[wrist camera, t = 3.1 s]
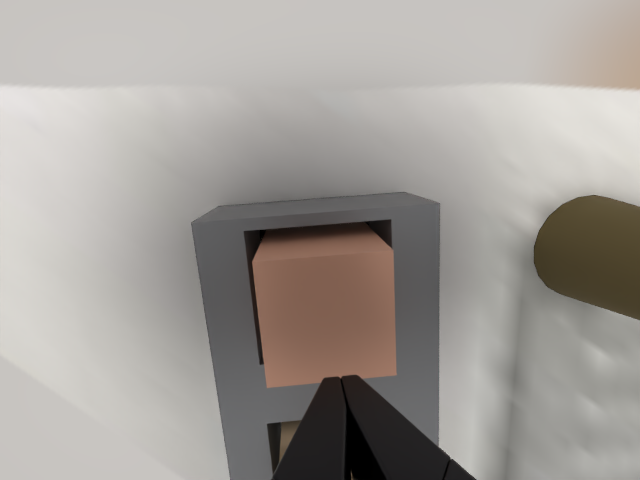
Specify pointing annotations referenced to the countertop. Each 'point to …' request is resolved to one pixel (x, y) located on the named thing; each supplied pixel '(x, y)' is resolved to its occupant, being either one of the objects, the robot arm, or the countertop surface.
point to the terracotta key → (325, 303)
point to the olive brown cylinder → (593, 253)
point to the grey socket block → (244, 330)
